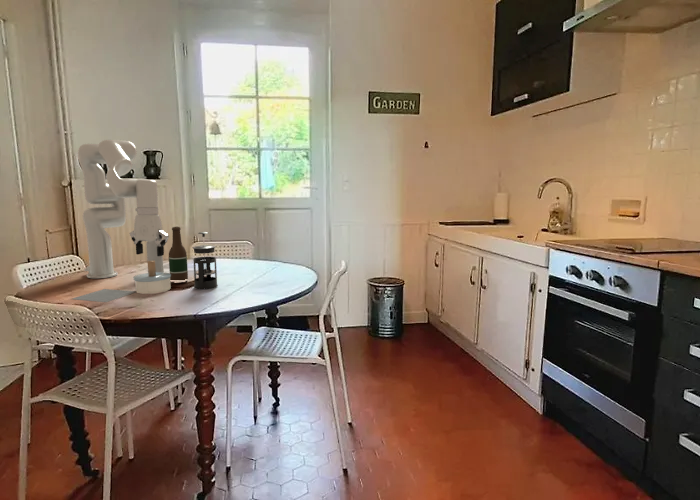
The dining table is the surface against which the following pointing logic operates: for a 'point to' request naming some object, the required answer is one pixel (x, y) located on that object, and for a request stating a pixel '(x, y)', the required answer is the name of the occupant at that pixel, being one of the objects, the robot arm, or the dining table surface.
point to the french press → (205, 281)
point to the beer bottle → (177, 257)
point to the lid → (151, 274)
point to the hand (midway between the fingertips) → (150, 254)
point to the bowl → (153, 286)
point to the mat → (104, 295)
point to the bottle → (154, 255)
